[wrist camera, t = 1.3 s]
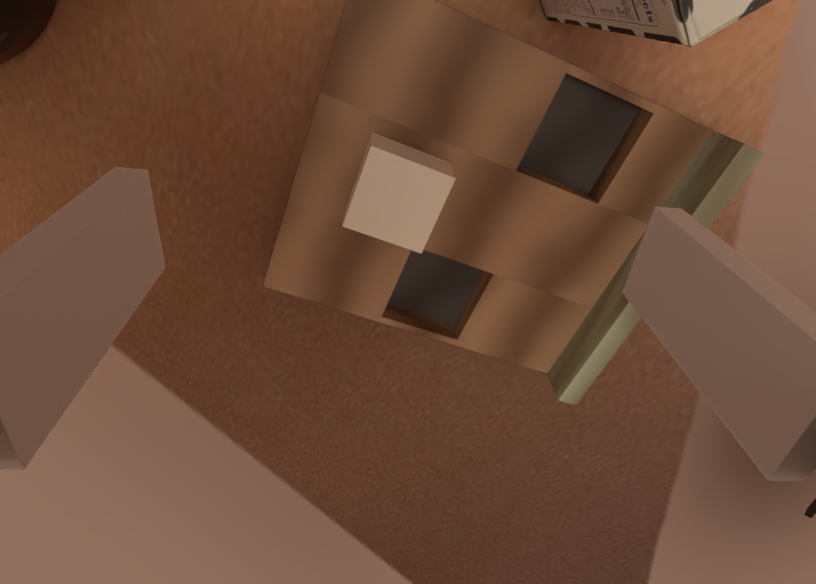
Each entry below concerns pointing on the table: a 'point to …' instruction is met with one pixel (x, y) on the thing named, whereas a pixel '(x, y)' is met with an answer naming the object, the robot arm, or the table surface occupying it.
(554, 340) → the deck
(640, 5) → the candy bar box
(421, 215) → the block
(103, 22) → the table surface
